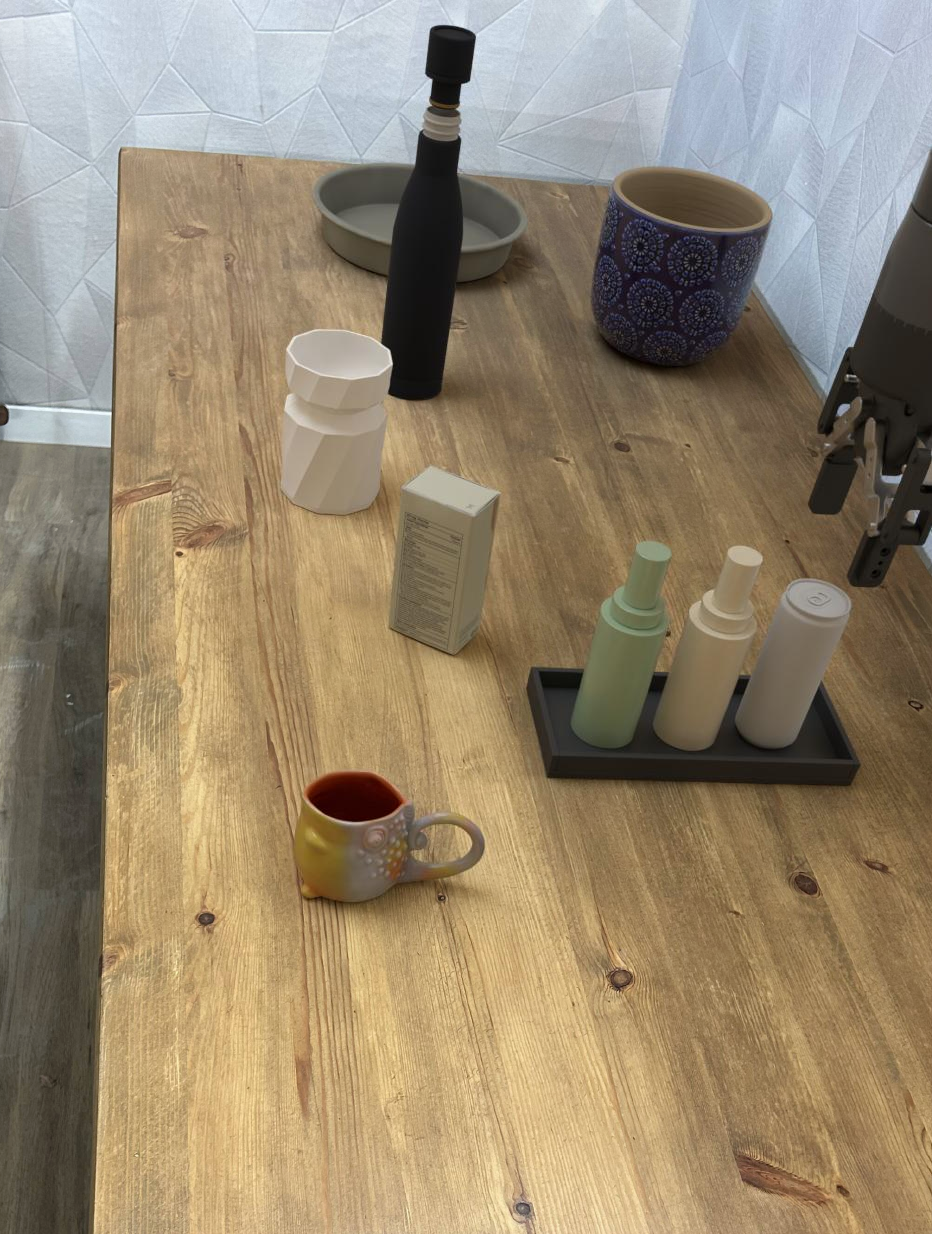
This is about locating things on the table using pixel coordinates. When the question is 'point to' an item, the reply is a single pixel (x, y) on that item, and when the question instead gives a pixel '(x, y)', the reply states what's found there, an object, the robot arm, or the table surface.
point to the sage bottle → (624, 653)
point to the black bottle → (429, 228)
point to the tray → (729, 759)
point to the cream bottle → (710, 656)
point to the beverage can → (792, 662)
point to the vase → (334, 420)
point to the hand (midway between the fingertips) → (841, 546)
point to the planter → (676, 262)
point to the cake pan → (368, 206)
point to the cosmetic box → (442, 558)
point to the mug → (367, 838)
